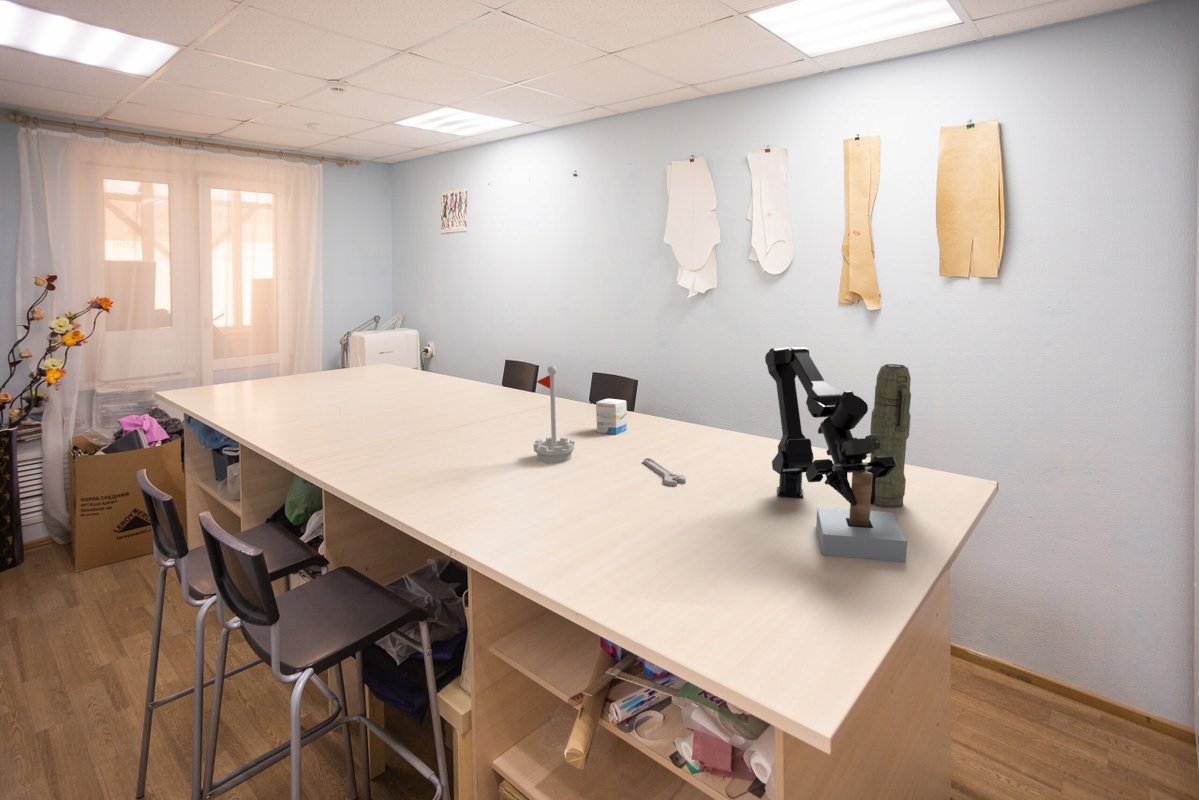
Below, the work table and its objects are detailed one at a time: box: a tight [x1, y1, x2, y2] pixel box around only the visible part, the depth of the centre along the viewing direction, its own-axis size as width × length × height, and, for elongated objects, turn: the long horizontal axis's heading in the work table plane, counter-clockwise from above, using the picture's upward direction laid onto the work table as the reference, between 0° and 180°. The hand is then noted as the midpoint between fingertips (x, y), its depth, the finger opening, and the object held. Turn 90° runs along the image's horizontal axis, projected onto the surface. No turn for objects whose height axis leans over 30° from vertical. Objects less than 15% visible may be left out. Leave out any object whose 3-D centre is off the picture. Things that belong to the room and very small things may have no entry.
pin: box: [849, 471, 873, 528], centre depth 139 cm, size 4×4×13 cm
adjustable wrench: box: [643, 457, 687, 487], centre depth 192 cm, size 25×6×2 cm, turn 13°
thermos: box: [869, 363, 912, 509], centre depth 161 cm, size 9×12×35 cm
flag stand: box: [533, 365, 576, 464], centre depth 206 cm, size 13×13×30 cm
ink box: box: [595, 398, 628, 435], centre depth 242 cm, size 9×8×12 cm
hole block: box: [815, 507, 908, 563], centre depth 140 cm, size 16×16×4 cm
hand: (864, 504), depth 137 cm, fingers closed on pin, 4 cm apart
